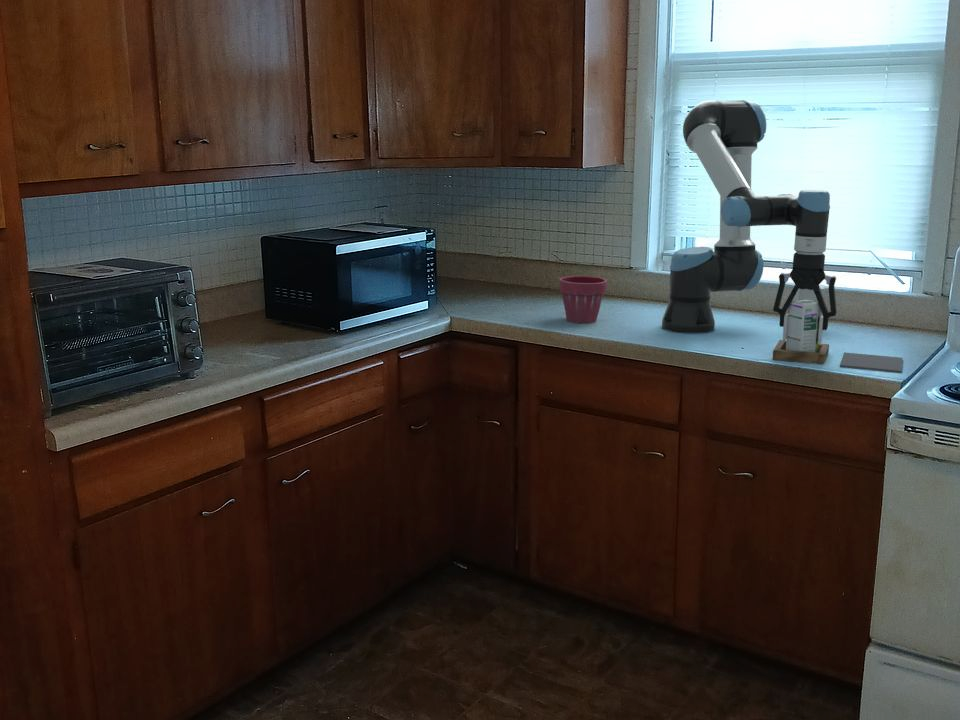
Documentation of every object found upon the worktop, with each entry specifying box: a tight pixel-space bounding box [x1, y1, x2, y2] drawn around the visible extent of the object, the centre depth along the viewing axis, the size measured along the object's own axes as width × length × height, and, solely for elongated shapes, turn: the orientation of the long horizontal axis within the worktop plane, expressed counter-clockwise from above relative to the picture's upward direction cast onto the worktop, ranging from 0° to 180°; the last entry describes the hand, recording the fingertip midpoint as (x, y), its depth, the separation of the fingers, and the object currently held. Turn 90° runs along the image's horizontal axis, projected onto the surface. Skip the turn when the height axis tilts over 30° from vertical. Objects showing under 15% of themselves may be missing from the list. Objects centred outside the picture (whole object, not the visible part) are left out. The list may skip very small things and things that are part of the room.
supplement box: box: [794, 284, 826, 317], centre depth 274 cm, size 7×7×13 cm
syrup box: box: [786, 300, 821, 353], centre depth 242 cm, size 6×6×14 cm
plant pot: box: [558, 275, 608, 324], centre depth 286 cm, size 14×14×13 cm
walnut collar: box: [772, 339, 830, 365], centre depth 243 cm, size 12×12×2 cm
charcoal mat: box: [839, 351, 903, 374], centre depth 237 cm, size 14×14×1 cm
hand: (802, 340), depth 243 cm, fingers closed on syrup box, 8 cm apart
